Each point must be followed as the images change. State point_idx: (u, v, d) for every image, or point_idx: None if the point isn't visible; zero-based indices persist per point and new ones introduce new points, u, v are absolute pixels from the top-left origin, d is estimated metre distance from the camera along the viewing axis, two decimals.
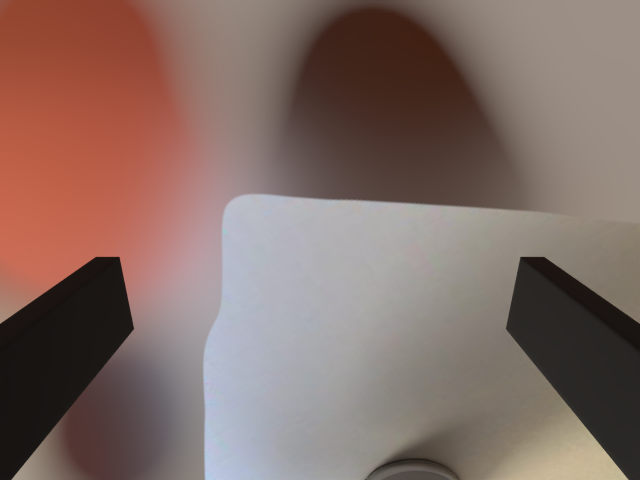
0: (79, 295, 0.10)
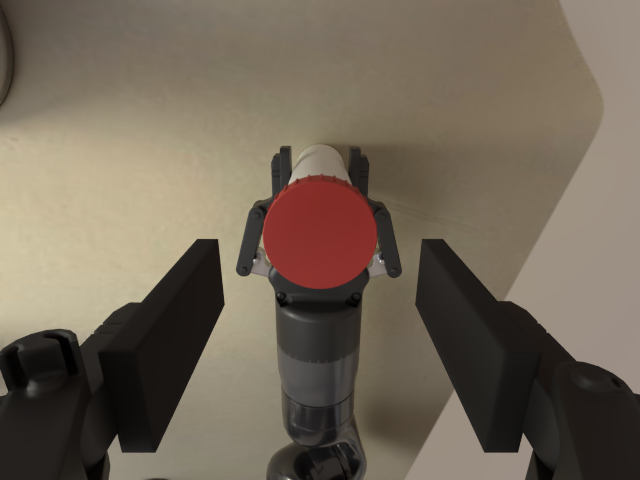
0: (200, 269, 0.12)
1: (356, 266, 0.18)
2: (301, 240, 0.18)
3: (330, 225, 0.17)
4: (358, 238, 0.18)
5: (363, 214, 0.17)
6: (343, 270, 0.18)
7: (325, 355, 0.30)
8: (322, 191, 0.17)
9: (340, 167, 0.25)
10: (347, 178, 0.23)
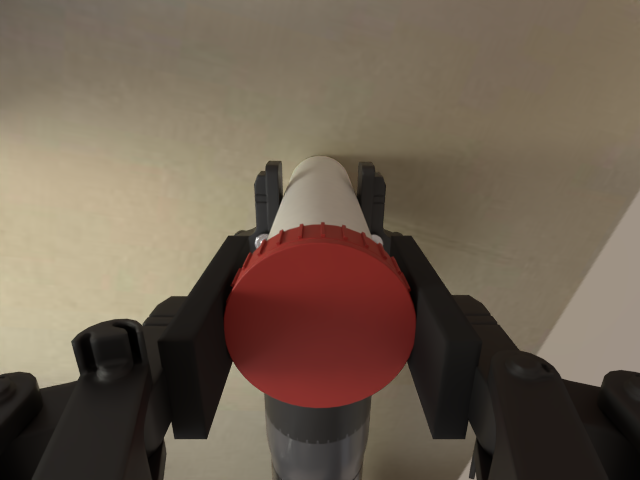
0: (236, 264, 0.12)
1: (380, 375, 0.11)
2: (288, 336, 0.10)
3: (337, 313, 0.10)
4: (384, 333, 0.10)
5: (394, 296, 0.10)
6: (358, 381, 0.11)
7: (327, 434, 0.23)
8: (324, 258, 0.10)
9: (348, 193, 0.18)
10: (359, 213, 0.16)
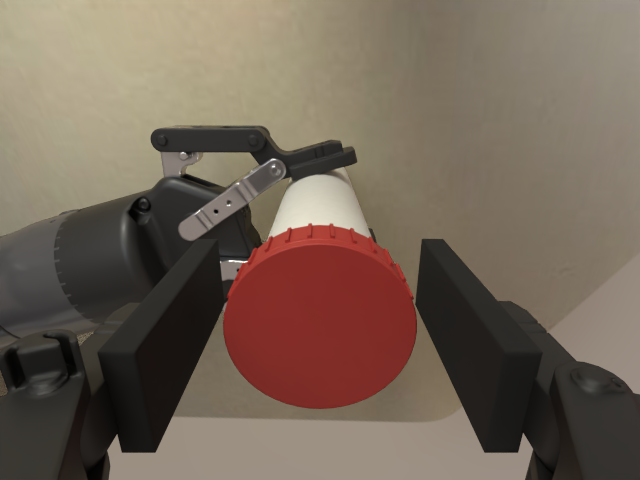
0: (200, 269, 0.12)
1: (401, 341, 0.10)
2: (296, 351, 0.11)
3: (322, 308, 0.10)
4: (376, 303, 0.10)
5: (359, 266, 0.10)
6: (385, 356, 0.11)
7: (84, 301, 0.20)
8: (276, 270, 0.10)
9: None
10: None
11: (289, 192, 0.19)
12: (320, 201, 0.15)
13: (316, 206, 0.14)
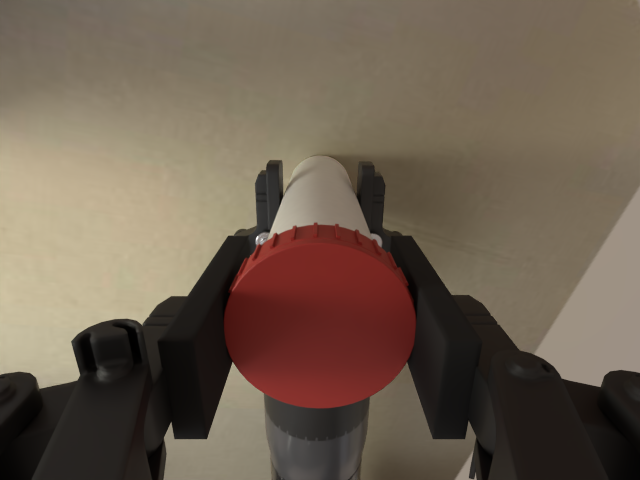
0: (236, 264, 0.12)
1: (353, 264, 0.10)
2: (332, 357, 0.11)
3: (293, 324, 0.10)
4: (300, 277, 0.10)
5: (255, 283, 0.10)
6: (367, 282, 0.10)
7: (325, 431, 0.23)
8: (242, 350, 0.11)
9: (348, 193, 0.18)
10: (359, 211, 0.16)
11: None
12: None
13: None
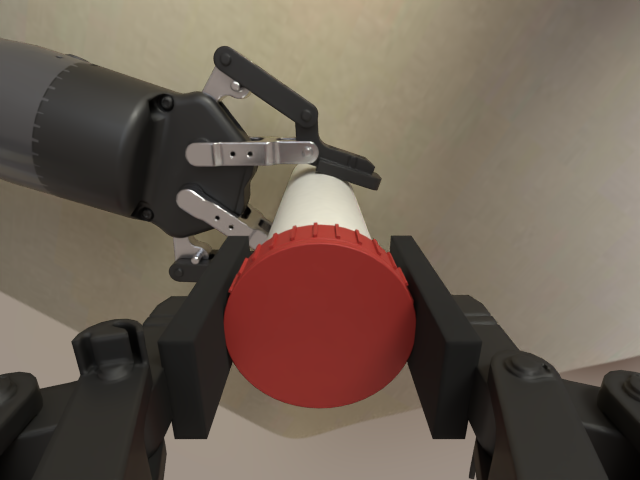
0: (236, 264, 0.12)
1: (353, 264, 0.10)
2: (332, 357, 0.11)
3: (293, 324, 0.10)
4: (299, 277, 0.10)
5: (255, 283, 0.10)
6: (367, 282, 0.10)
7: (48, 156, 0.18)
8: (242, 349, 0.11)
9: None
10: None
11: (311, 180, 0.19)
12: (349, 209, 0.15)
13: (348, 212, 0.15)
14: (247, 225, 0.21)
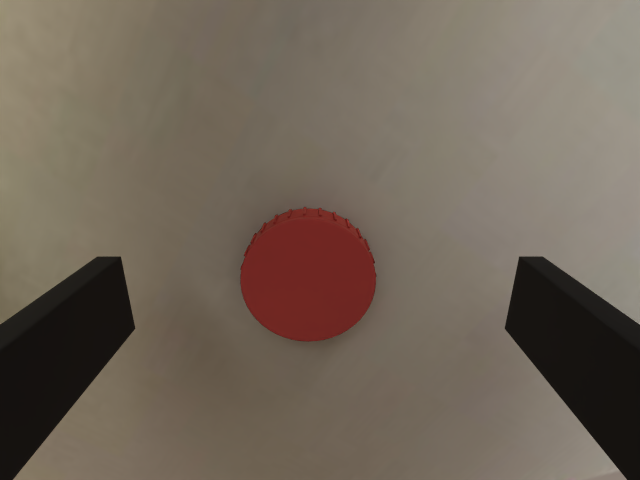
0: (81, 295, 0.10)
1: (330, 233, 0.14)
2: (317, 302, 0.15)
3: (289, 277, 0.15)
4: (294, 243, 0.14)
5: (263, 247, 0.14)
6: (340, 246, 0.14)
7: None
8: (253, 296, 0.15)
9: None
10: None
11: None
12: None
13: None
14: None
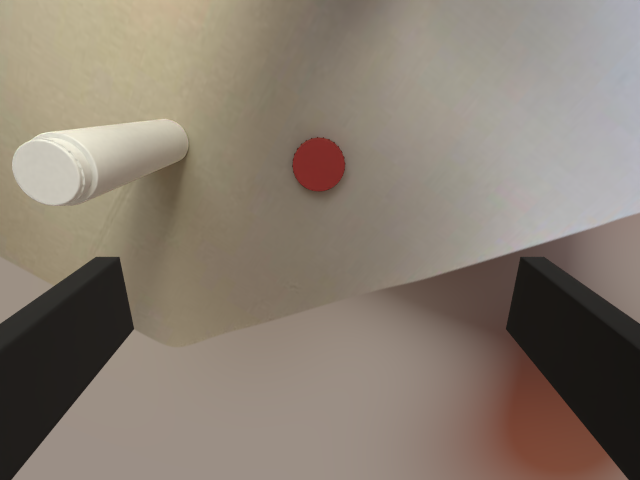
0: (79, 295, 0.10)
1: (327, 145, 0.38)
2: (322, 173, 0.39)
3: (311, 163, 0.39)
4: (313, 148, 0.38)
5: (302, 150, 0.38)
6: (331, 150, 0.38)
7: None
8: (297, 171, 0.39)
9: (139, 177, 0.31)
10: None
11: None
12: (107, 133, 0.26)
13: (99, 133, 0.25)
14: None
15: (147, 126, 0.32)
